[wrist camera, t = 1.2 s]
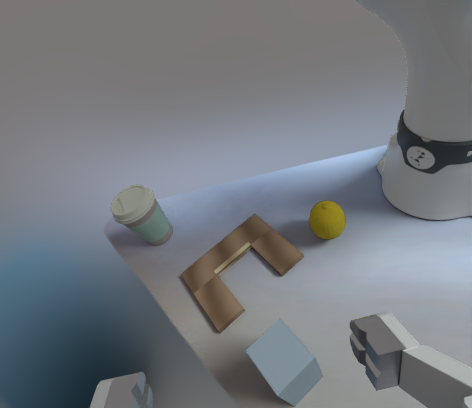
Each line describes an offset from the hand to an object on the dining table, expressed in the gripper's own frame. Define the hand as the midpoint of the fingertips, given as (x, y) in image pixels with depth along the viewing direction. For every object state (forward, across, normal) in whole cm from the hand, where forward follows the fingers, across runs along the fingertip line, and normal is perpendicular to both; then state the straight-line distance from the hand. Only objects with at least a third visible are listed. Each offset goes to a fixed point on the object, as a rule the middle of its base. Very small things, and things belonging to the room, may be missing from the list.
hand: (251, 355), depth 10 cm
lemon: (+32, -18, +16) cm, 40 cm away
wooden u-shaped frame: (+33, -1, +19) cm, 38 cm away
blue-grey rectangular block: (+16, -5, +26) cm, 31 cm away
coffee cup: (+47, +14, +17) cm, 52 cm away
